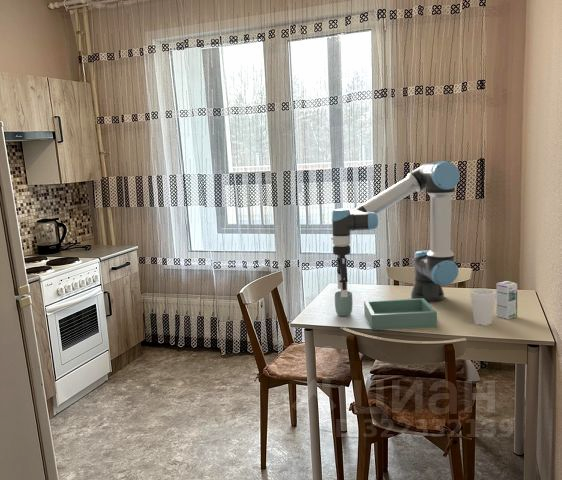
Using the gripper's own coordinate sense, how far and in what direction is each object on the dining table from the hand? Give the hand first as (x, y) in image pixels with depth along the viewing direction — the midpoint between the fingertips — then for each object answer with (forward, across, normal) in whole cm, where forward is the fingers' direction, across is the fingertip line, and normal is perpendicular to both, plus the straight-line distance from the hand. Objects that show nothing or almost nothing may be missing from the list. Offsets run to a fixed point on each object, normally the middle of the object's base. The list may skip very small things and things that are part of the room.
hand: (342, 292), depth 221 cm
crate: (+10, +10, +22) cm, 27 cm away
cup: (+10, 0, 0) cm, 11 cm away
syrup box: (+10, +12, +66) cm, 68 cm away
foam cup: (+10, +18, +54) cm, 58 cm away
